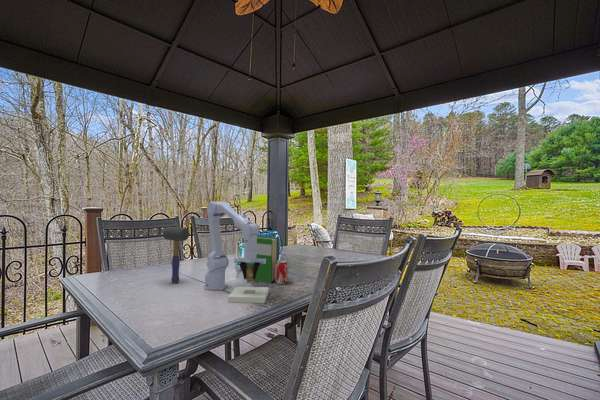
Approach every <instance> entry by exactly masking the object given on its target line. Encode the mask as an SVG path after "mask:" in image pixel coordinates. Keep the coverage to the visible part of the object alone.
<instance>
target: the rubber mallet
mask: <svg viewBox="0 0 600 400" xmlns="http://www.w3.org/2000/svg"><path fill="white" fill-rule="evenodd" d="M162 232H163V233H162V236H163V238H164V240H168V241H173V248H172V249H173V250H172V259H171V269H172V272H171V282H172V283H173V284H177V283H179V281H180V272H179V271H180V255H179V242H183V241H184V242H185V241H187V240H188V239H189V236H190V231H189V229H188V228H187V227H183V226H182V227H181V226H167V227H165V228H164V230H163V231H162Z"/></svg>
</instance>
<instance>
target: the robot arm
mask: <svg viewBox="0 0 600 400" xmlns="http://www.w3.org/2000/svg"><path fill="white" fill-rule="evenodd" d="M225 215H226V216H227V217H229V218H230V219H232V220H233V224H234V225H235V226H236V227H237V228H238V229H239V230H240V231H241V234H242V238H243V240H244V241H243V246H244V247H243V257H235V258H233V264H239V267H240V270H241V273H242V274H243V280H246V267H247V263H255V264H254V265H253V267H254V275H253V279H254V280H255V279H256V274H257V270H258V268H259V266H260V263H263V264H266V259H261V258H256V253H257V236H259V234H260V231H261V230H260V226H259V224H258V223H257V222H252V220H250V219H248V218H246V215H245V214H238V213H237V212H236V211H235V210H234V208H232V206H231V204H230V203H229V202H228V201H227V200H226V201H225V200H224V201H211V200H210V201H209V203H207V205H206V216H207V219H208V221H207V222H208V228H209V229H208V230H209V238H210V246H211V248H210V250H211V252H210V253H208V255H207V256H206V257H207V261H206V268H207V270H206V271H205V274H204V288H203V289H204V290H215V291H224V290H225V288H226V287H227V286H228V284H227V283H226V270H227V268H228V266H229V264H230V262H229V257H228V254H227V252H225V251H224V250H223V244H222V235H221V225H220V224H221V223H220V220H221V218H223V217H224V216H225Z"/></svg>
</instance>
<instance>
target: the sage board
mask: <svg viewBox="0 0 600 400" xmlns="http://www.w3.org/2000/svg"><path fill="white" fill-rule="evenodd" d="M269 290H270V288H269V287H265V286H264V287H262V286H261V287H260V286H259V287H257V286H253V287H252V286H235V288H234V289H233V290H232V292H231V293H230V294H229V295H228V300H227V302H228V303H229V304H230V303H232V304H233V303H234V304H235V303H237V304H241V303H243V304H265V303H266V301H267V297H268V295H269V293H270V291H269Z"/></svg>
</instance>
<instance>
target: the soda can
mask: <svg viewBox="0 0 600 400" xmlns="http://www.w3.org/2000/svg"><path fill="white" fill-rule="evenodd" d="M288 282H289V264H288V261H287V260H286V259H280V260H279V259H278V261H277V263H276V265H275V280H274V283H276V284H277V285H286V284H287V283H288Z"/></svg>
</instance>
